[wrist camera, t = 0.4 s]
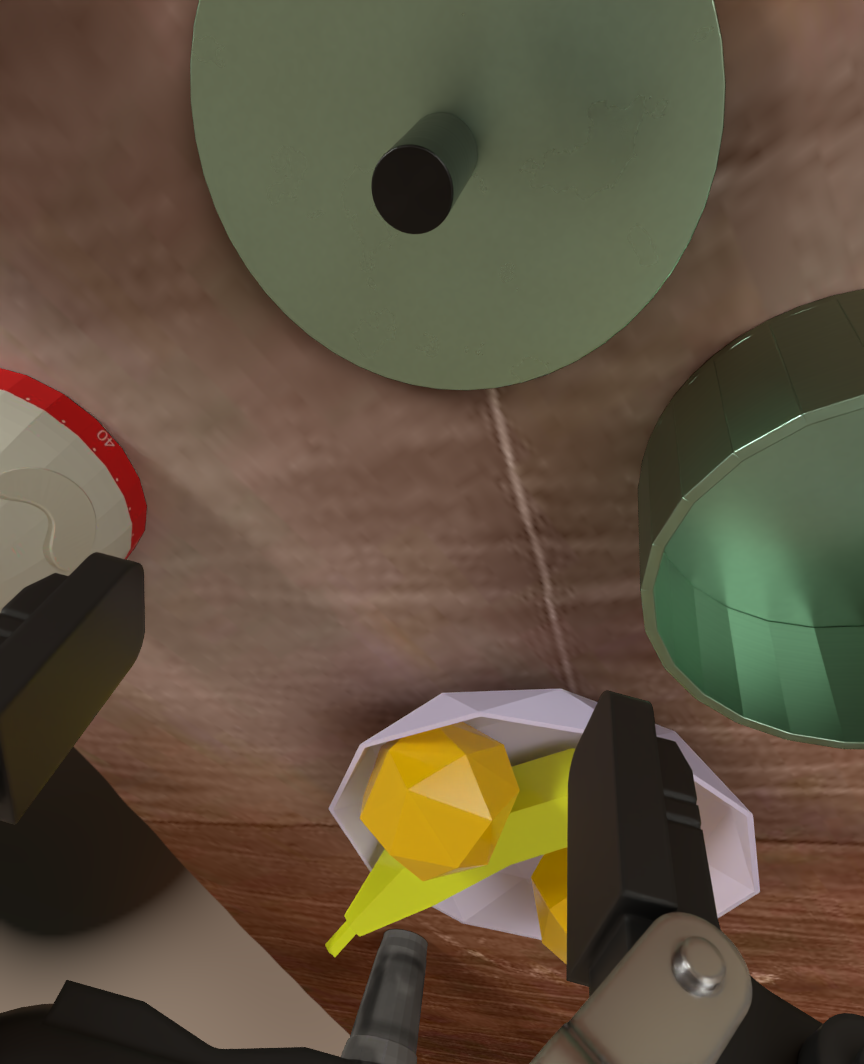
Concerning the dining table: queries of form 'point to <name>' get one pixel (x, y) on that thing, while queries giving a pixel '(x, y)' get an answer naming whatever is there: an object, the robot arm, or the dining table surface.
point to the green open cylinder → (764, 527)
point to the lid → (459, 169)
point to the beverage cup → (391, 1003)
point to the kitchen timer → (59, 487)
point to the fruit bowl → (496, 816)
